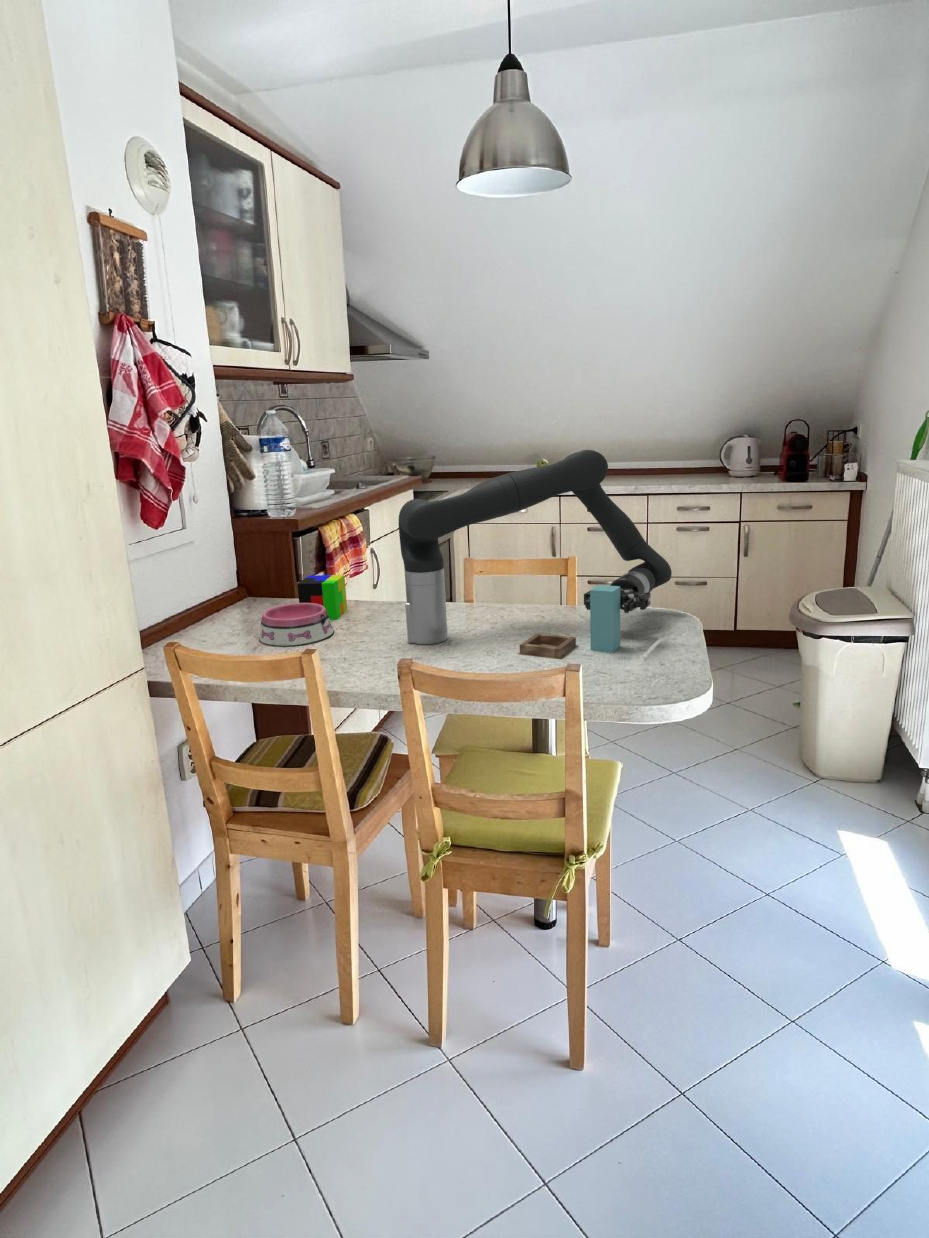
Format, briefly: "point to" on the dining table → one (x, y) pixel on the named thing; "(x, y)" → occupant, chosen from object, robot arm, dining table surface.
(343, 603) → the puzzle toy
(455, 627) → the dining table surface
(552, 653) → the square wooden tray
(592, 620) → the block
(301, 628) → the dog bowl
